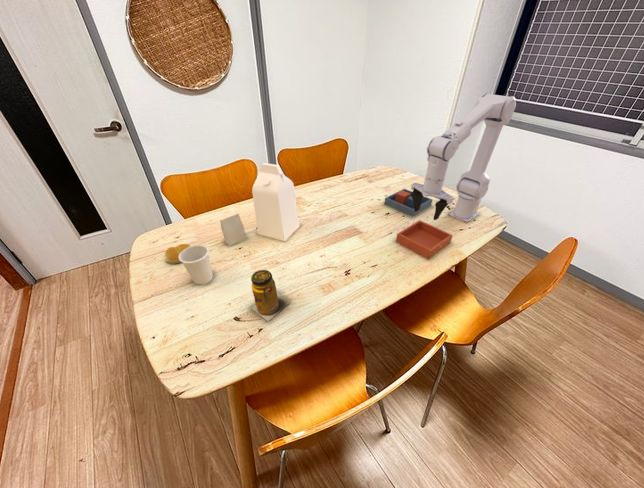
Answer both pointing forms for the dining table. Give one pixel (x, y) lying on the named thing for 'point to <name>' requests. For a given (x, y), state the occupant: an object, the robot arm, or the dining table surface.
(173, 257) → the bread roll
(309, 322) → the dining table surface
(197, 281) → the dixie cup
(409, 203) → the slate block
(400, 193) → the terracotta block
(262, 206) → the milk
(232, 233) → the grey wedge block
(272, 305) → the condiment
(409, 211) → the slate bin
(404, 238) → the terracotta bin
